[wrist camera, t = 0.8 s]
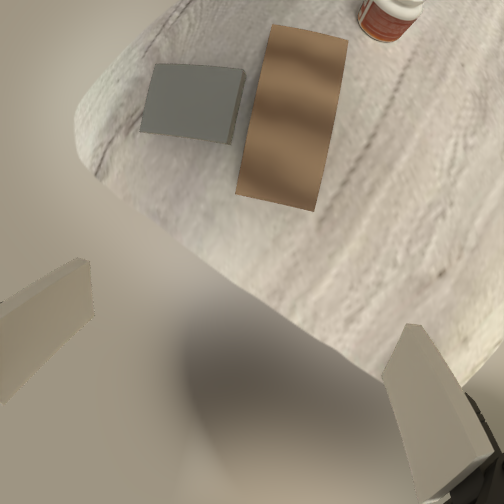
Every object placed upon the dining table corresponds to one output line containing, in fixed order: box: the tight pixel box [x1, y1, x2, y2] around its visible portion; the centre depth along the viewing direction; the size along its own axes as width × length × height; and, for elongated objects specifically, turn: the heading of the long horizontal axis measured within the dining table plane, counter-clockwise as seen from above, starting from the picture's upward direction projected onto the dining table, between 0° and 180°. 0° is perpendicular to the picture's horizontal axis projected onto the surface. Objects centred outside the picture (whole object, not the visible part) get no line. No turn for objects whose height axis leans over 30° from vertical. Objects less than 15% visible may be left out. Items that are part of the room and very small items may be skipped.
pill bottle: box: [358, 0, 425, 42], centre depth 20 cm, size 6×6×11 cm
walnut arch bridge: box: [235, 24, 348, 212], centre depth 28 cm, size 19×8×6 cm, turn 169°
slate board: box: [140, 64, 246, 145], centre depth 30 cm, size 9×11×3 cm
